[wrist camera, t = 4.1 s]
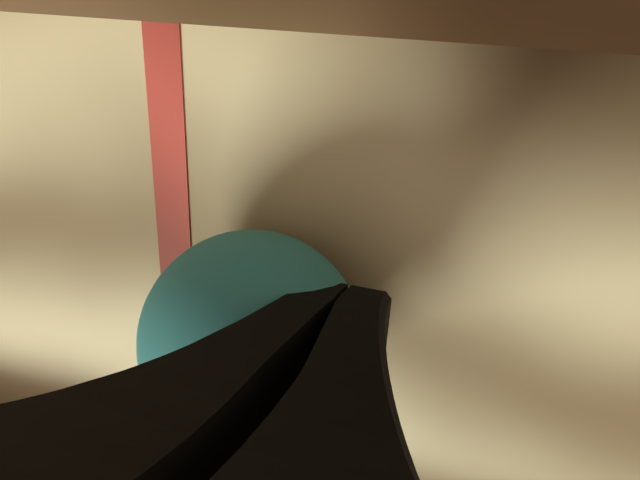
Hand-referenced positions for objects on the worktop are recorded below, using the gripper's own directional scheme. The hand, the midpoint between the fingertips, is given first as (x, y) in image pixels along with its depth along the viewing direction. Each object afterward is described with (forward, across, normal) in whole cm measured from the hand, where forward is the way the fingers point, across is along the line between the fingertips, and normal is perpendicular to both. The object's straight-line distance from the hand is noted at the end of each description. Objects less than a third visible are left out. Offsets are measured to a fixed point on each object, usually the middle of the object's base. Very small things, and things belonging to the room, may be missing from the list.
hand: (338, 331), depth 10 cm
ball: (0, +2, 0) cm, 2 cm away
